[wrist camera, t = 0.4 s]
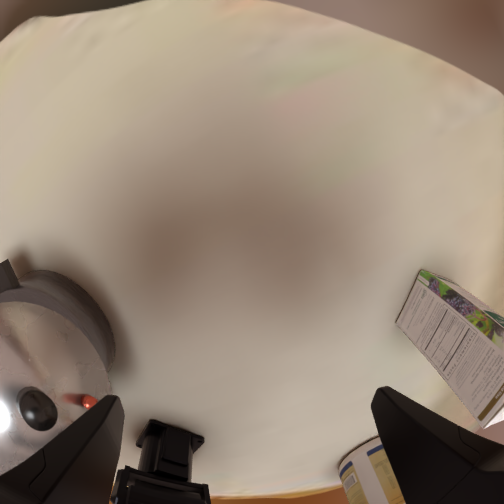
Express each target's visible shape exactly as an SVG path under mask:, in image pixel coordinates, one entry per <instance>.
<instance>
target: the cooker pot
mask: <svg viewBox="0 0 504 504" xmlns="http://www.w3.org/2000/svg"><path fill="white" fill-rule="evenodd" d="M2 302H27V303H32V304H36V305H40V306H43V307H45V308H48V309H51V310H53V311H54V312H56V313H58V314H60V315H62V316H63V317H65V318H66V319H68V320H69V321H70V322H72V323H73V324H74V325H75V326H76V327H77V328H79V329H80V331H81V332H82V333H83V334H84V335H85V336H86V337H87V338H88V340H89V341H90V342H91V344H92V345H93V346H94V348H95V349H96V351H97V353H98V354H99V356H100V358H101V360H102V362H103V364H104V367H105V369H106V372H107V374H108V372H109V369H110V367H111V365H112V363H113V360H114V357H115V342H114V337H113V333H112V330H111V327H110V325H109V323H108V320H107V319H106V317H105V315H104V313H103V312H102V310H101V309H100V307H99V306H98V305H97V303H96V302H95V301H94V300H93V299H92V297H91V296H90V295H89V294H88V293H87V292H86V291H85V290H84V289H82V288H81V287H80V286H79V285H78V284H76V283H75V282H73V281H72V280H70V279H69V278H67V277H65V276H63V275H61V274H58V273H56V272H52V271H46V270H37V271H33V272H30V273H28V274H26V275H24V276H23V277H22V278H20V279H19V280H18V279H17V277H16V275H15V273H14V271H13V269H12V267H11V264H10V262H9V260H8V259H7V260H5V261H3V262H2V263H0V303H2Z"/></svg>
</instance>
